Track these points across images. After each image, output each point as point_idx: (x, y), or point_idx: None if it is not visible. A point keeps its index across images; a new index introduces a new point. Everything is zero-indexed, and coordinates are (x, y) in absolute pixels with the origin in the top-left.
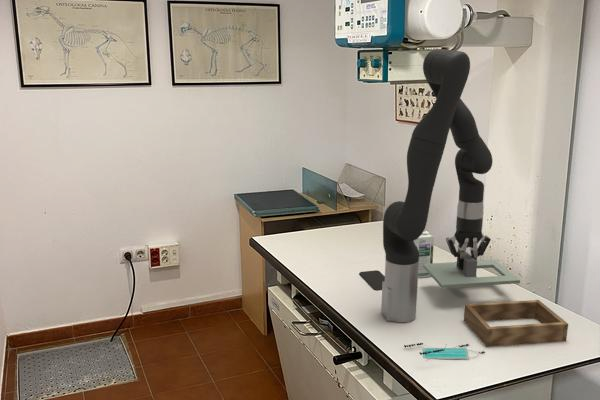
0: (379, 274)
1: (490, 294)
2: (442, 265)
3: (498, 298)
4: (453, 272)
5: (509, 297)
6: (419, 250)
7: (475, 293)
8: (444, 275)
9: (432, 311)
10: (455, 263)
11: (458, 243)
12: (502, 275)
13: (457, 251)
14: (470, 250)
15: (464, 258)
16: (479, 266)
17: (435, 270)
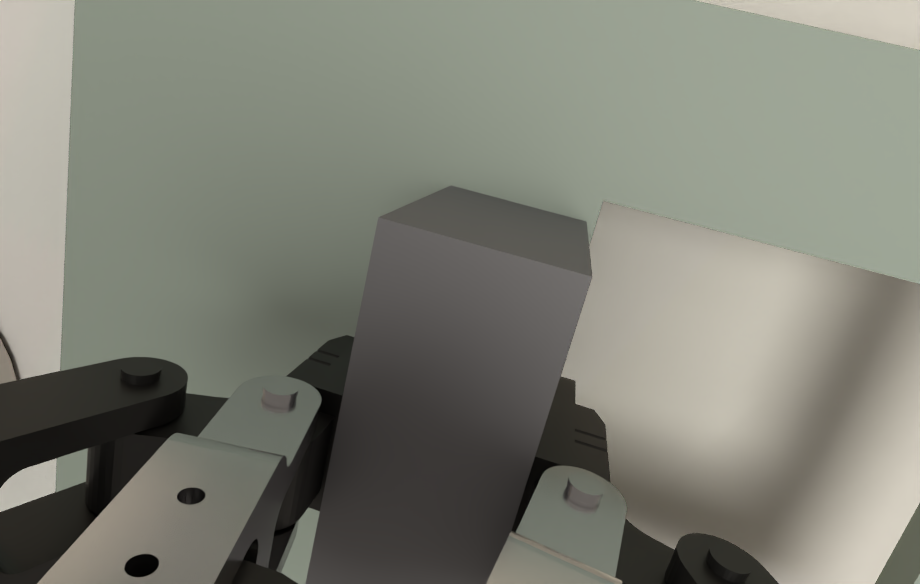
0: None
1: (739, 361)
2: (308, 37)
3: (739, 449)
4: (316, 316)
5: (848, 474)
6: None
7: (628, 291)
8: (175, 344)
9: None
10: (533, 38)
11: (110, 505)
12: (885, 572)
13: (211, 426)
14: (521, 522)
15: (319, 537)
16: (822, 256)
17: (141, 167)
